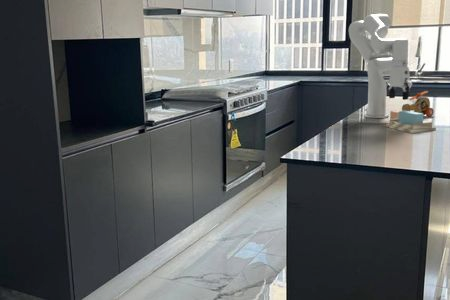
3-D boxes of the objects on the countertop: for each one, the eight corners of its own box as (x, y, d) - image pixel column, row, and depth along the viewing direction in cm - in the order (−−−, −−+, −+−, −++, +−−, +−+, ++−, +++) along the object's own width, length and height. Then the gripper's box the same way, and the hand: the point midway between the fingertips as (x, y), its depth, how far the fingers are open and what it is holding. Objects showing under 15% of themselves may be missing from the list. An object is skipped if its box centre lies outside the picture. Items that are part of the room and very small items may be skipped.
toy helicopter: (434, 116, 268) (436, 90, 265) (409, 120, 257) (410, 94, 254) (421, 114, 275) (423, 89, 272) (396, 118, 264) (397, 93, 261)
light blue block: (398, 124, 242) (398, 111, 241) (404, 123, 244) (405, 110, 242) (416, 128, 231) (416, 114, 230) (422, 127, 233) (423, 113, 231)
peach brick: (390, 122, 254) (390, 111, 253) (397, 121, 256) (398, 110, 255) (396, 124, 250) (396, 112, 249) (403, 123, 252) (404, 111, 250)
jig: (385, 127, 243) (386, 119, 242) (408, 124, 248) (408, 116, 247) (412, 133, 227) (412, 125, 226) (435, 129, 232) (436, 122, 231)
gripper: (418, 64, 240) (416, 99, 243) (393, 63, 255) (392, 96, 259) (405, 64, 237) (404, 100, 240) (381, 64, 253) (381, 98, 256)
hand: (398, 98), depth 250 cm, fingers open, 9 cm apart
